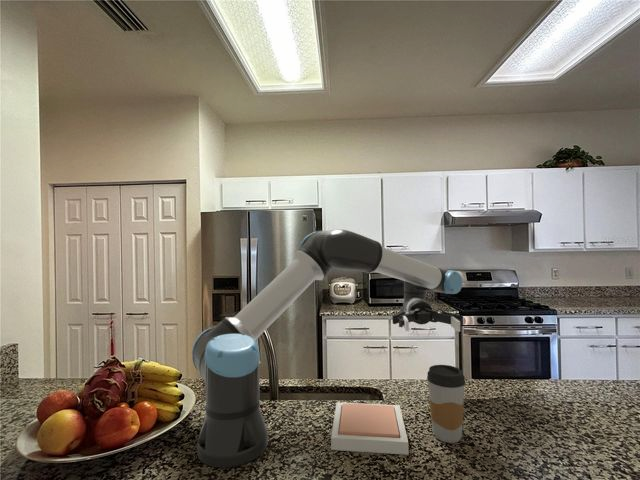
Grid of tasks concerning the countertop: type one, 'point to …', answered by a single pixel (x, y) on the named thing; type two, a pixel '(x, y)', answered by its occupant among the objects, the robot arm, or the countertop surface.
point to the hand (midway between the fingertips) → (432, 326)
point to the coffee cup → (446, 401)
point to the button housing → (369, 437)
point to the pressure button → (368, 420)
